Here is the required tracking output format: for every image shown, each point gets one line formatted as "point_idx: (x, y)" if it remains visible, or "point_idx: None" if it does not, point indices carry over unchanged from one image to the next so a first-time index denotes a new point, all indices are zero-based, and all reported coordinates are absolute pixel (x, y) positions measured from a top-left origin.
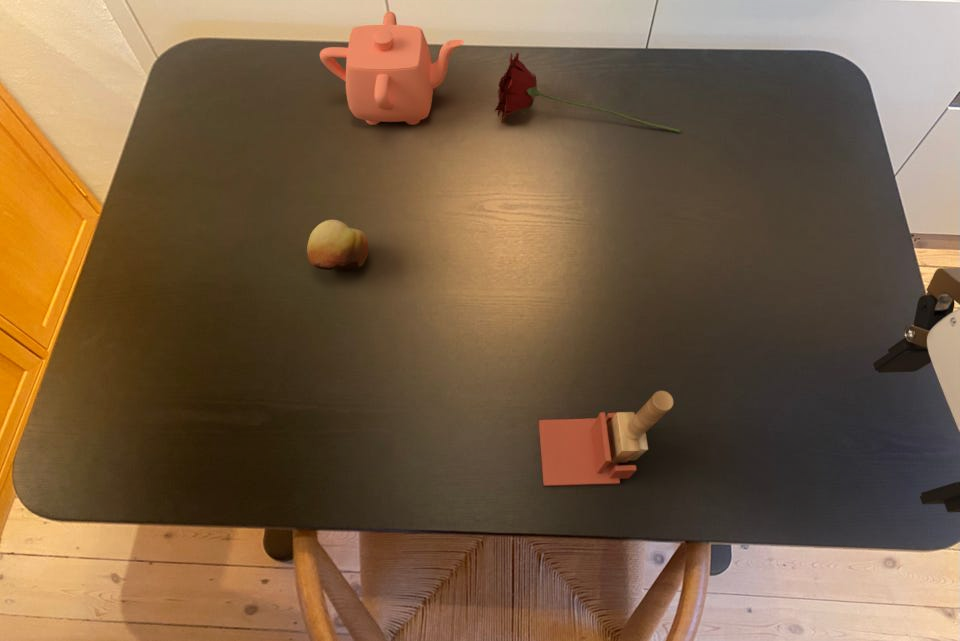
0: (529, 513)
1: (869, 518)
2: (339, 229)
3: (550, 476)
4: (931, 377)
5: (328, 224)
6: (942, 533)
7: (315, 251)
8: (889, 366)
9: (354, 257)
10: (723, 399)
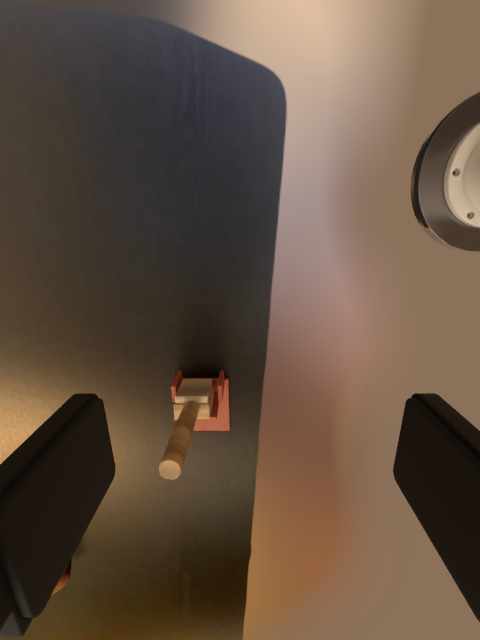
0: (249, 437)
1: (262, 163)
2: None
3: (223, 426)
4: (101, 23)
5: None
6: (280, 83)
7: (55, 592)
8: (96, 498)
9: None
10: (150, 280)
